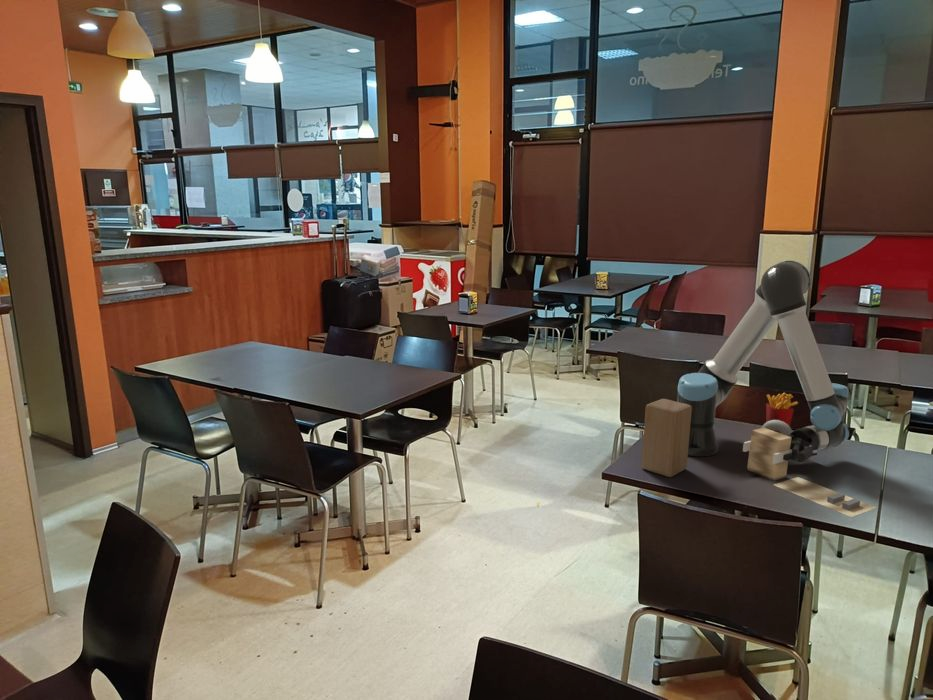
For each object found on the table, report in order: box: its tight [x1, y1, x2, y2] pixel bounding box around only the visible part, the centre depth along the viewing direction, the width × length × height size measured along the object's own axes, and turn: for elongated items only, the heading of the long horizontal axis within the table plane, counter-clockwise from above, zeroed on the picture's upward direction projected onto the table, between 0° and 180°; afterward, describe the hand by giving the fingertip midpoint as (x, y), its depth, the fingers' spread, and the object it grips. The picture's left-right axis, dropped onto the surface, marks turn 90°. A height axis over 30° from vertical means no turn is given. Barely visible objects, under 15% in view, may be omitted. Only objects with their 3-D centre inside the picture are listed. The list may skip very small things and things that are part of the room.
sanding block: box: [746, 427, 792, 482], centre depth 193 cm, size 9×5×12 cm, turn 30°
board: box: [773, 476, 877, 518], centre depth 180 cm, size 22×11×2 cm, turn 30°
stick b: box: [842, 498, 861, 510], centre depth 173 cm, size 2×5×1 cm, turn 120°
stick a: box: [827, 492, 846, 504], centre depth 177 cm, size 2×5×1 cm, turn 120°
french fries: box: [765, 392, 799, 433], centre depth 228 cm, size 9×8×15 cm
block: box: [641, 398, 692, 478], centre depth 198 cm, size 10×10×20 cm
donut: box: [761, 420, 793, 435], centre depth 215 cm, size 10×4×10 cm, turn 49°
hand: (759, 452), depth 190 cm, fingers closed on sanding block, 9 cm apart
